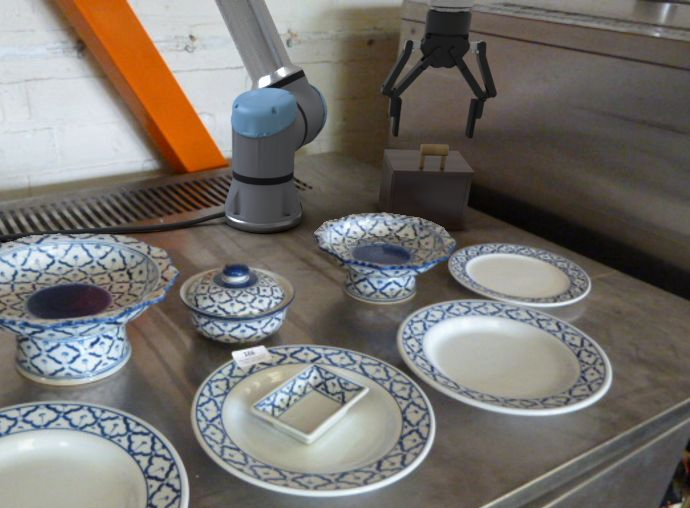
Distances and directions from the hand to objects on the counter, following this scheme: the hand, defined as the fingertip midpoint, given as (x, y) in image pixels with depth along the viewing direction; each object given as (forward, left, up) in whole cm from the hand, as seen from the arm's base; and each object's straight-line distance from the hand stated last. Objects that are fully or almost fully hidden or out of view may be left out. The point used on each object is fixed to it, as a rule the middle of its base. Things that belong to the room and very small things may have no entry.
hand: (431, 135), depth 121 cm
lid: (0, +1, -6) cm, 6 cm away
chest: (0, +1, -16) cm, 16 cm away
